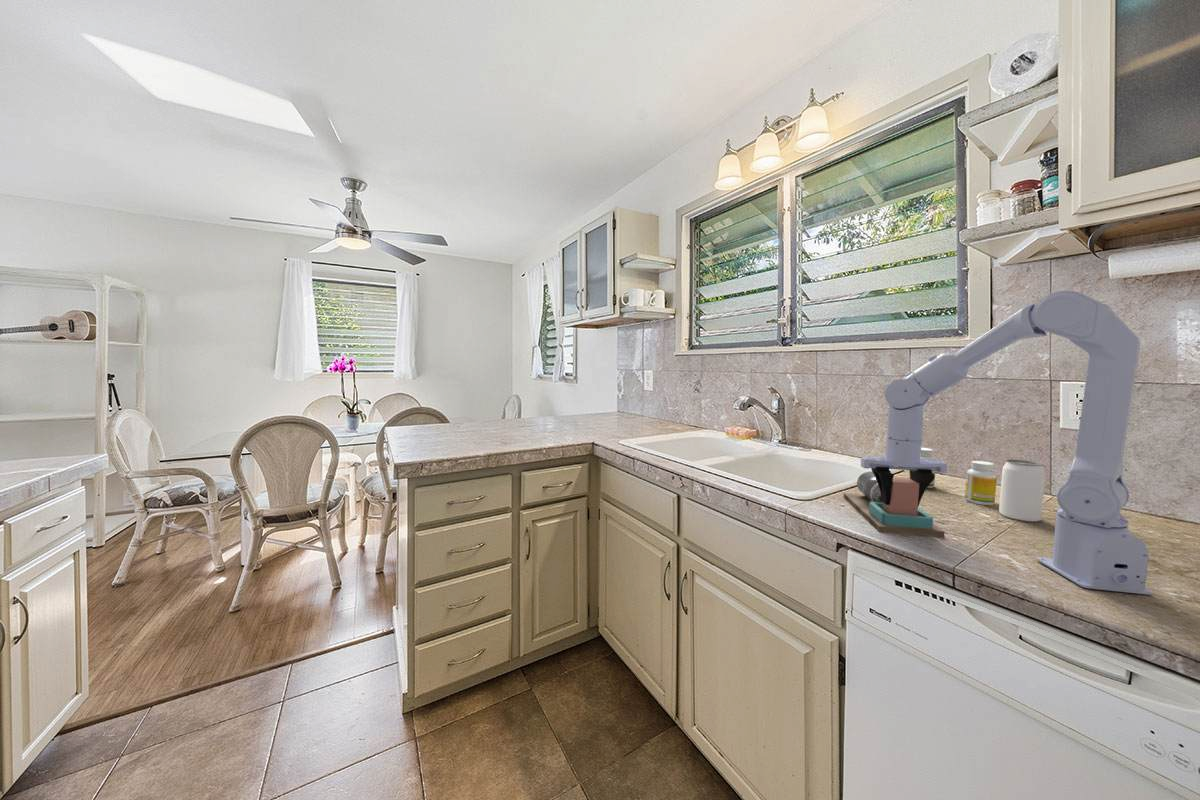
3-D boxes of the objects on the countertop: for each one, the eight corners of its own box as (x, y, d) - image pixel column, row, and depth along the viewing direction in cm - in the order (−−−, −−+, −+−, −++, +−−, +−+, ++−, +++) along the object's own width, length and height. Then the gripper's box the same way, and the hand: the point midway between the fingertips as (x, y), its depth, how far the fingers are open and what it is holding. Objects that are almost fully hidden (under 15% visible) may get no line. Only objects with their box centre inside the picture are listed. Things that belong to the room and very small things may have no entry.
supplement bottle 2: (958, 498, 104) (961, 460, 103) (979, 498, 104) (982, 459, 103) (979, 505, 98) (982, 465, 98) (1001, 505, 99) (1004, 465, 98)
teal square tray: (934, 529, 82) (935, 519, 82) (883, 524, 84) (883, 515, 84) (913, 513, 90) (914, 504, 90) (867, 510, 92) (867, 501, 92)
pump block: (917, 518, 84) (919, 483, 84) (891, 516, 85) (893, 482, 85) (906, 510, 89) (908, 477, 88) (882, 508, 90) (884, 476, 89)
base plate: (944, 537, 80) (944, 531, 80) (879, 531, 83) (879, 526, 83) (893, 500, 102) (894, 496, 102) (843, 496, 105) (843, 492, 105)
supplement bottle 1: (913, 482, 118) (915, 446, 118) (937, 486, 114) (940, 449, 113) (904, 485, 115) (907, 448, 114) (929, 490, 111) (932, 451, 110)
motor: (906, 514, 90) (908, 484, 90) (873, 511, 92) (874, 482, 92) (884, 497, 102) (886, 471, 101) (855, 495, 103) (856, 469, 103)
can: (1049, 523, 87) (1055, 466, 86) (1013, 521, 89) (1017, 465, 88) (1025, 513, 94) (1030, 459, 93) (991, 511, 95) (995, 458, 94)
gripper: (935, 437, 88) (930, 501, 89) (857, 434, 91) (853, 495, 92) (954, 443, 81) (949, 512, 82) (869, 439, 84) (865, 506, 86)
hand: (899, 504), depth 87 cm, fingers closed on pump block, 4 cm apart
